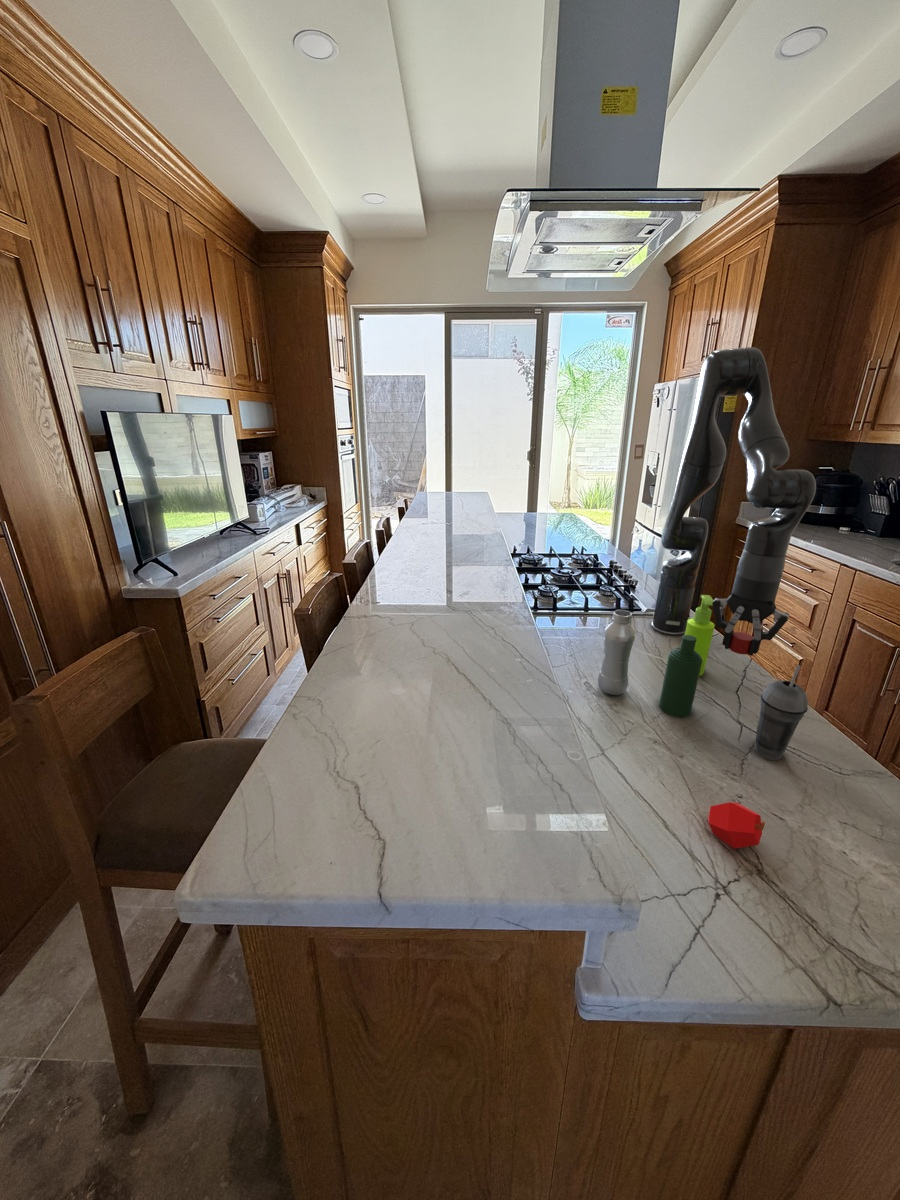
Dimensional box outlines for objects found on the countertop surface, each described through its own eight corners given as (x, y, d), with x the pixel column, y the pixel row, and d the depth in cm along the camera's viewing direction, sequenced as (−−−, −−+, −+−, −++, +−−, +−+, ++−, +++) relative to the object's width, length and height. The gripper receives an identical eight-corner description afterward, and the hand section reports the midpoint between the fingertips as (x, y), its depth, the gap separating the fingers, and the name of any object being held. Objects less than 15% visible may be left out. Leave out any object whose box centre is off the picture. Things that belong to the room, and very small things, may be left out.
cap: (736, 643, 104) (740, 630, 103) (754, 651, 101) (758, 638, 100) (724, 648, 102) (728, 634, 101) (742, 656, 99) (746, 642, 98)
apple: (697, 804, 75) (757, 816, 69) (711, 788, 79) (768, 797, 74) (703, 848, 75) (763, 863, 69) (717, 829, 79) (774, 842, 74)
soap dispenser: (681, 676, 118) (697, 601, 110) (676, 662, 124) (690, 590, 117) (707, 679, 117) (725, 604, 109) (700, 665, 123) (717, 592, 115)
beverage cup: (782, 743, 96) (812, 654, 88) (796, 768, 89) (829, 675, 81) (741, 737, 97) (766, 649, 90) (752, 761, 91) (780, 669, 83)
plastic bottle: (628, 700, 109) (641, 620, 101) (597, 696, 111) (608, 618, 103) (624, 684, 115) (637, 608, 107) (595, 681, 116) (605, 605, 109)
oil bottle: (663, 696, 111) (677, 628, 104) (693, 706, 107) (709, 636, 100) (655, 709, 106) (669, 639, 99) (686, 720, 102) (702, 648, 95)
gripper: (804, 576, 93) (781, 654, 100) (723, 561, 102) (707, 634, 108) (799, 587, 88) (775, 669, 95) (714, 571, 96) (697, 647, 103)
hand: (739, 650), depth 101 cm, fingers closed on cap, 4 cm apart
